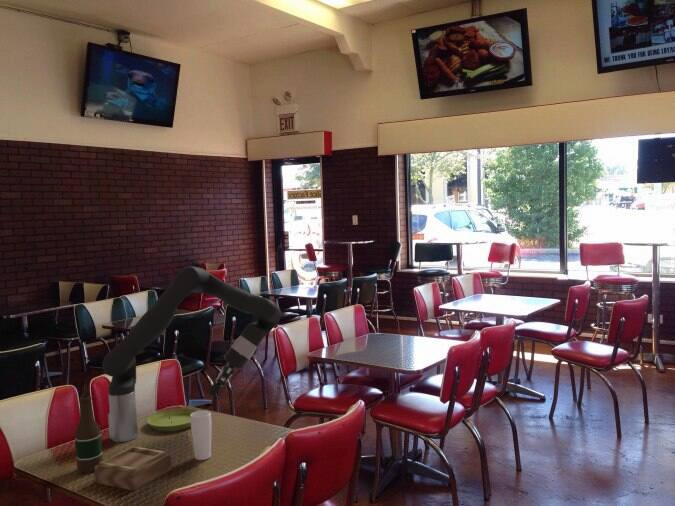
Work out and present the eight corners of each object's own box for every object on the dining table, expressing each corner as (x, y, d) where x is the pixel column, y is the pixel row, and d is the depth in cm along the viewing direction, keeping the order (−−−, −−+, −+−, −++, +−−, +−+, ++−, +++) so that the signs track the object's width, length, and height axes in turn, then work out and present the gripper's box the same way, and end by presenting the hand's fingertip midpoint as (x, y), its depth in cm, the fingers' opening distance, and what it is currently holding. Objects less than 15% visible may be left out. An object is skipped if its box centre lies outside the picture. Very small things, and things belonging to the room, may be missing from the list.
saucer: (173, 437, 219) (172, 429, 219) (135, 429, 230) (135, 421, 230) (212, 420, 236) (212, 412, 236) (176, 413, 247) (175, 405, 247)
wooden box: (95, 482, 183) (94, 463, 183) (133, 462, 197) (132, 444, 197) (134, 490, 176) (133, 471, 176) (171, 469, 191) (170, 450, 190)
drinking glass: (208, 462, 195) (205, 417, 194) (189, 461, 196) (186, 416, 195) (216, 453, 201) (214, 410, 200) (198, 453, 203) (195, 410, 202)
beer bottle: (71, 472, 192) (66, 399, 190) (90, 462, 199) (85, 392, 197) (90, 475, 189) (84, 401, 187) (108, 465, 196) (103, 393, 194)
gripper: (231, 345, 207) (202, 385, 203) (232, 346, 193) (201, 389, 190) (248, 357, 208) (220, 397, 204) (250, 359, 194) (221, 402, 190)
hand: (211, 393), depth 197 cm, fingers open, 8 cm apart
